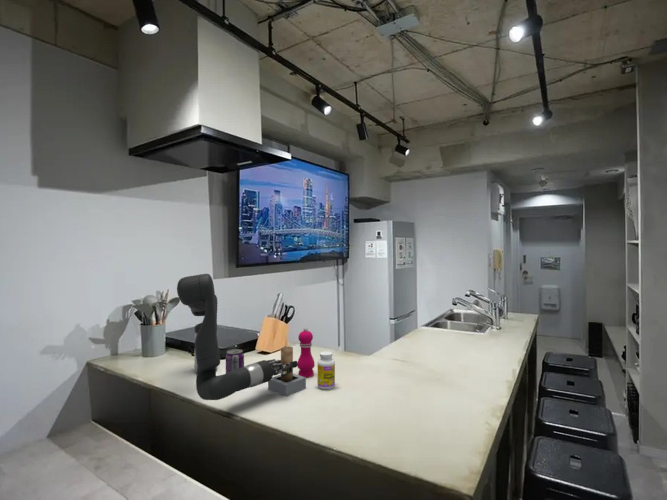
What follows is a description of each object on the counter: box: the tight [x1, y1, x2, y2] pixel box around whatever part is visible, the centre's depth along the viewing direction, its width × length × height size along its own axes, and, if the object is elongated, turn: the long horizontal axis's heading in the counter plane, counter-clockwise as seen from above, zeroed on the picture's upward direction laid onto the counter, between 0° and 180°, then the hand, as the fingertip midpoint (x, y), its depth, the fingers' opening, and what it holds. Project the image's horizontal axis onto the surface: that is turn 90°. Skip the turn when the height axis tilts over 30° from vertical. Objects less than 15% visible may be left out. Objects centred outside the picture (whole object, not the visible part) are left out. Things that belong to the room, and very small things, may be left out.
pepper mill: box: [296, 327, 315, 379], centre depth 151 cm, size 7×7×20 cm
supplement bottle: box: [317, 351, 336, 390], centre depth 138 cm, size 7×7×13 cm
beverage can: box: [225, 348, 245, 374], centre depth 145 cm, size 7×7×12 cm
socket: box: [267, 373, 307, 397], centre depth 137 cm, size 10×10×4 cm
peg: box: [280, 346, 294, 382], centre depth 137 cm, size 4×4×14 cm
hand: (292, 362), depth 139 cm, fingers closed on peg, 4 cm apart
